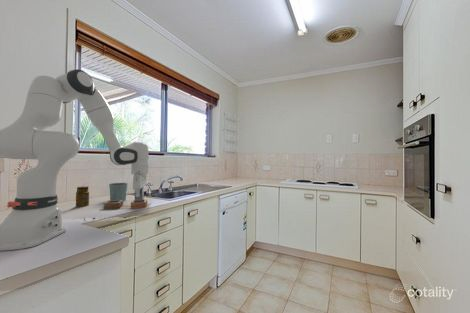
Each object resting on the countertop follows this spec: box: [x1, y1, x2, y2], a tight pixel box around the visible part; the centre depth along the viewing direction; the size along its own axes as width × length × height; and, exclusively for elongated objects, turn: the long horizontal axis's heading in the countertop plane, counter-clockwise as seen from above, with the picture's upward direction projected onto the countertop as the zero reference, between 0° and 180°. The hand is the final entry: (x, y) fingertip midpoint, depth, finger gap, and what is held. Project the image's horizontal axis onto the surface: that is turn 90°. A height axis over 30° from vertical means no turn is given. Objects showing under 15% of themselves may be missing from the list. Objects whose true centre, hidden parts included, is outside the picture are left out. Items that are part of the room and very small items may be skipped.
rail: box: [99, 198, 151, 211], centre depth 121 cm, size 12×24×4 cm, turn 104°
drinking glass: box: [108, 182, 128, 202], centre depth 137 cm, size 10×10×12 cm
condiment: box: [75, 185, 90, 208], centre depth 121 cm, size 7×8×12 cm
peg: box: [134, 185, 145, 202], centre depth 123 cm, size 4×4×11 cm
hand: (139, 195), depth 123 cm, fingers open, 8 cm apart
